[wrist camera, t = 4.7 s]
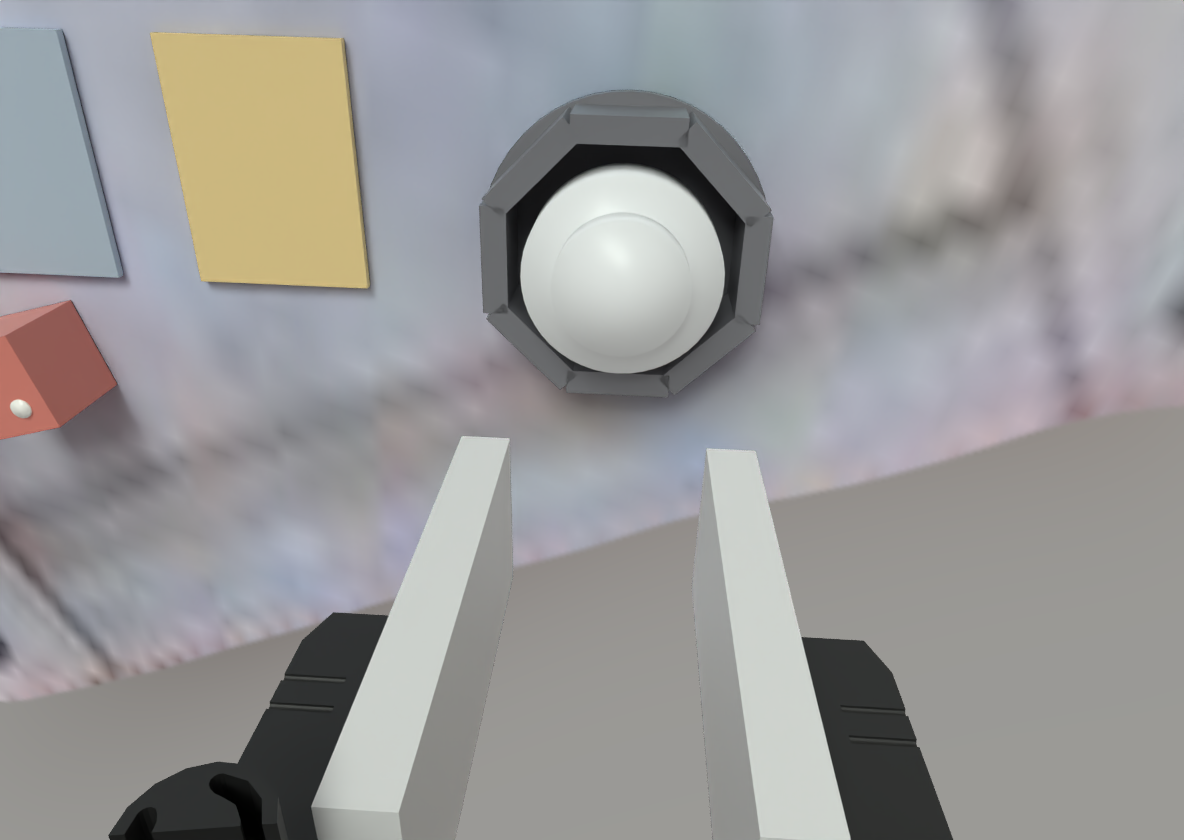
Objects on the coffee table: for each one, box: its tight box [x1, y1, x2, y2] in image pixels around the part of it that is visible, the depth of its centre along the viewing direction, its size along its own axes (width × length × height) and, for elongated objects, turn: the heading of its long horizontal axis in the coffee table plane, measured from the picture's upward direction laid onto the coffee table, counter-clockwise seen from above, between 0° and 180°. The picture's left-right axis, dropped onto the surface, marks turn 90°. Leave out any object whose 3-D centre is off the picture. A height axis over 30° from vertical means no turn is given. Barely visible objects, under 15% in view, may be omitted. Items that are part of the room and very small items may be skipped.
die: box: [0, 300, 117, 440], centre depth 29 cm, size 4×4×4 cm
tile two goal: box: [150, 32, 370, 288], centre depth 27 cm, size 8×6×1 cm
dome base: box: [479, 90, 773, 397], centre depth 26 cm, size 10×10×3 cm
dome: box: [520, 163, 725, 373], centre depth 24 cm, size 6×6×3 cm
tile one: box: [0, 27, 124, 278], centre depth 27 cm, size 8×6×1 cm
